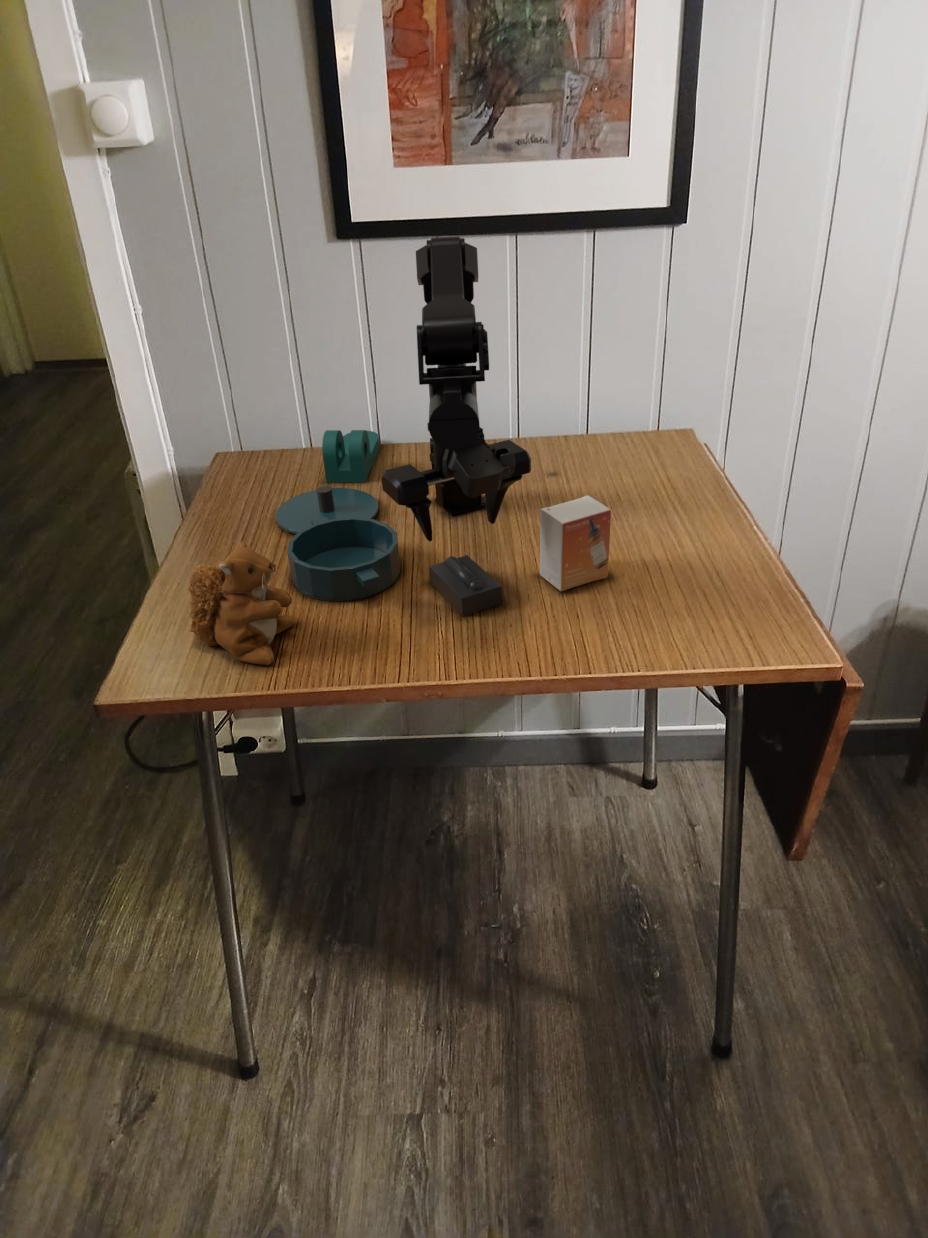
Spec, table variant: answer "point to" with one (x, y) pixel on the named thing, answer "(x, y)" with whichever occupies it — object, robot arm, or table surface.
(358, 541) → the pot
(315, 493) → the lid
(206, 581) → the stuffed squirrel
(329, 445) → the bracket
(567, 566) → the small box
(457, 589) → the dark grey block
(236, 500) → the table surface
